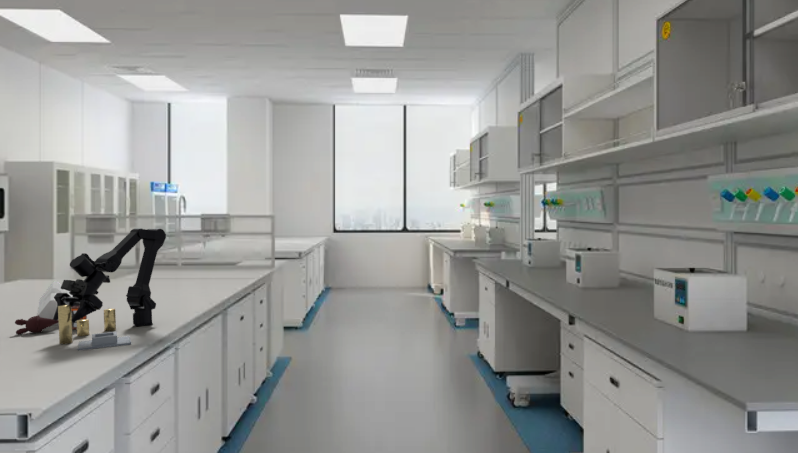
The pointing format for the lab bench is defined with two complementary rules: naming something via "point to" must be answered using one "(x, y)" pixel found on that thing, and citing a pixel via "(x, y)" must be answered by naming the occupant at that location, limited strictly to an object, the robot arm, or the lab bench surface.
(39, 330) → the icecream
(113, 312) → the pin mid
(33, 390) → the lab bench surface
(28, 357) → the lab bench surface
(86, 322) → the pin short
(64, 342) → the pin long
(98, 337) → the gauge plate
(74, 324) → the supplement bottle
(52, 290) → the slotted wedge
